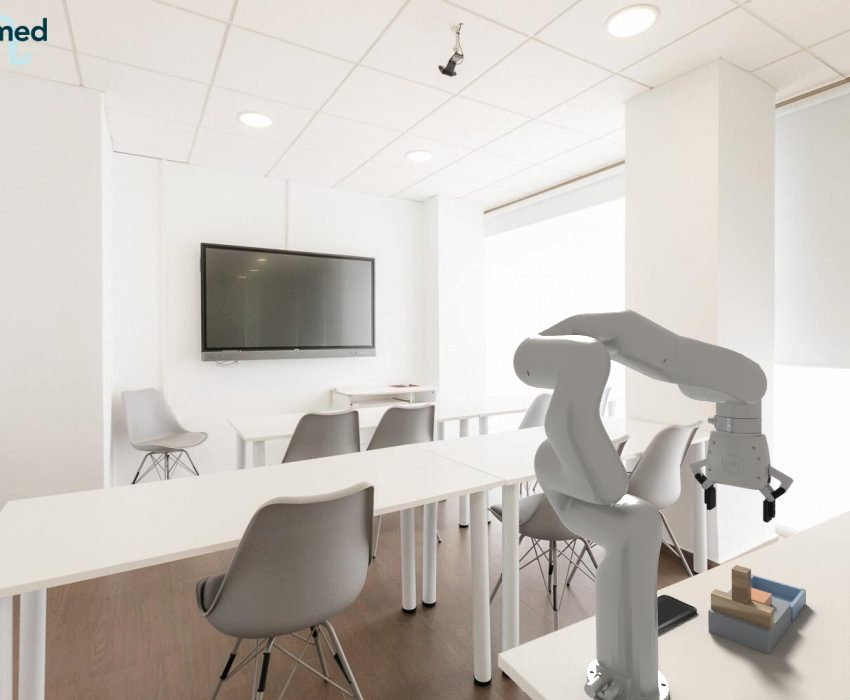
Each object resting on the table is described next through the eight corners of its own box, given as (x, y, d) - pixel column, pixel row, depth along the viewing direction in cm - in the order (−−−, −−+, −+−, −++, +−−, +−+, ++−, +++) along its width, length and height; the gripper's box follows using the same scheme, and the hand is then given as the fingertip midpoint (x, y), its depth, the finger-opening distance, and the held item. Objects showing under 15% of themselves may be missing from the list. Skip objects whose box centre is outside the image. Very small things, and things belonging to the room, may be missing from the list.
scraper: (770, 629, 93) (769, 580, 93) (710, 608, 101) (710, 562, 100) (774, 624, 95) (774, 575, 94) (715, 603, 102) (715, 558, 102)
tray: (792, 622, 102) (792, 607, 102) (736, 603, 110) (736, 589, 110) (805, 604, 109) (805, 590, 109) (752, 587, 116) (751, 574, 116)
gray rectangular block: (768, 654, 92) (768, 632, 92) (708, 631, 100) (708, 610, 100) (790, 624, 101) (790, 604, 101) (734, 605, 109) (734, 586, 109)
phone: (699, 609, 107) (654, 632, 99) (699, 614, 107) (654, 638, 99) (664, 593, 113) (619, 613, 105) (664, 598, 113) (619, 619, 105)
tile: (763, 613, 98) (763, 602, 98) (734, 603, 102) (734, 593, 102) (771, 603, 102) (771, 593, 102) (743, 594, 105) (743, 585, 105)
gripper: (683, 422, 103) (683, 508, 103) (786, 433, 90) (786, 531, 90) (697, 418, 108) (698, 500, 108) (797, 428, 95) (797, 520, 95)
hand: (738, 514), depth 99 cm, fingers open, 9 cm apart
